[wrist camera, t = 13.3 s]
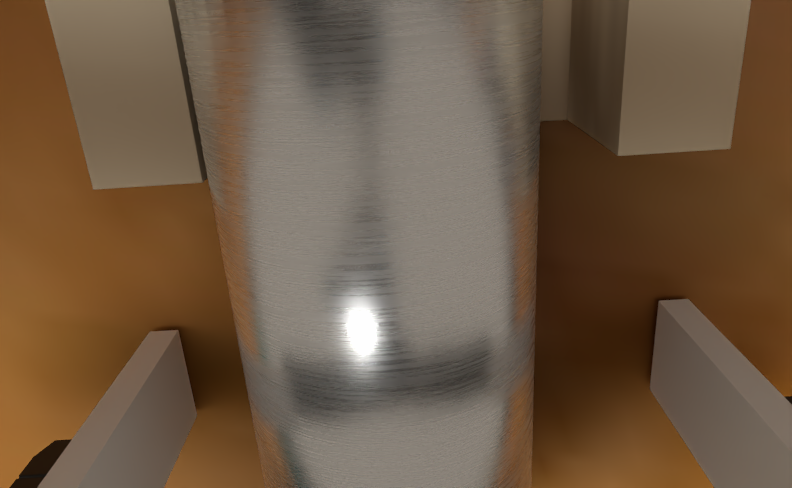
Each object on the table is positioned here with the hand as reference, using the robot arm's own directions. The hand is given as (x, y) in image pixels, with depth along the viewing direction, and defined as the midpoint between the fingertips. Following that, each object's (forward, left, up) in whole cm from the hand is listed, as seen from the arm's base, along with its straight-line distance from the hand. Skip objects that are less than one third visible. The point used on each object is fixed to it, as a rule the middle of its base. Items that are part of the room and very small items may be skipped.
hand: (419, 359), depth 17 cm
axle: (-3, 0, 0) cm, 3 cm away
